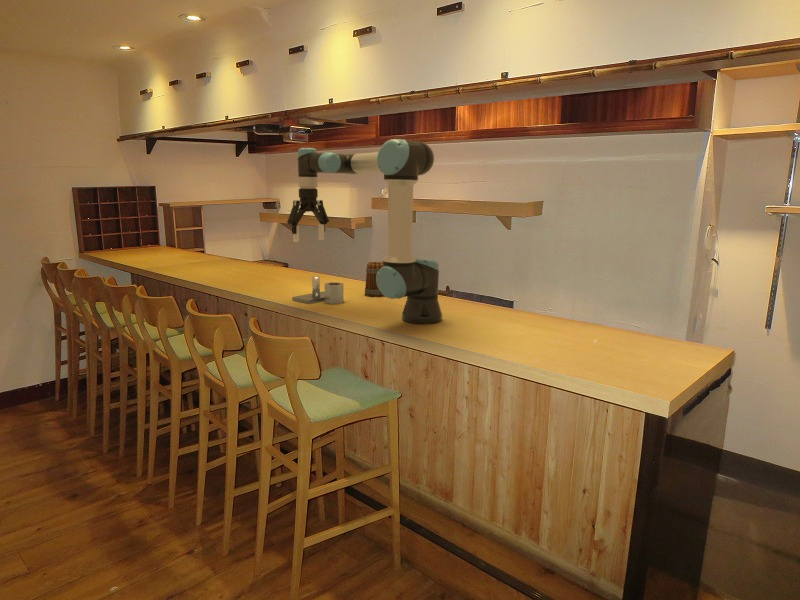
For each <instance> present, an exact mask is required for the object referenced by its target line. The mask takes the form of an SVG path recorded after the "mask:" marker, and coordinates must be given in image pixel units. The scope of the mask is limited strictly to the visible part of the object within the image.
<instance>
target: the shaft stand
mask: <svg viewBox="0 0 800 600" xmlns="http://www.w3.org/2000/svg"><path fill="white" fill-rule="evenodd" d="M291 299H292V301H294V302H297V303H304V304H307V305H311V304H316V303H320V302H325V290H324V291H323V290H322V291H321V276H319V275H318V276H317V275H314V276H311V293H306V294H302V295H297V296H292V297H291Z"/></svg>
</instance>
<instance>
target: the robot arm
mask: <svg viewBox="0 0 800 600" xmlns="http://www.w3.org/2000/svg"><path fill="white" fill-rule="evenodd" d="M434 163H435V155H434V151H433V149H432V147H430V146H429V145H428V144H427V143H425V142H423V141H417V140H411V139H410V140H409V139H404V138H393V139H392V138H391V139H388V140H387V141H385V142H384V143H383V144H382V145H381V146H380V148H379V150H378V151H374V152H373V151H372V152H363V153H350V154H344V153H335V152H331V151H330V152H329V151H326V152H318V150H317V149H316V148H314V147H300V148H299V149H298V150H297V173H298V176H297V177H298V181H297V182H298V187H299V188H298V198H299V200H298V199H297V200H293V201H292V208H291V211H290V213H289V216H288V219H287V222H286V224H288V225H290V227H291V234H292V238H293V239H292V241H293V242H294V243H300V226H299V223H300V221H301V219H302V217H303V216H304V214H305V213H307V212H308V213H309V212H311V213H312V214H313V215H314V217H315V218H316V219H317V221H318V222H319V223H318V226H317V227H318V228H317V229H318V231H317V232H318V240H319V241H325V231H326V225H327V224H328V223H330V220H329V217H328V215H327V212H326V211H327V210H326V209H325V207H324V200H322V199H317V198H318V197H319V196H318V195H319V194H318V193H319V192H318V189H317V188H318V173H319V174H320V173H322V174H345V175H346V174H348V175H358V174H364V173H365V174H368V173H369V174H370V173H382V174H383V181H384V182H385V183H386V184H387V189H388V190H387V250H386V251H387V253H386V254H387V255H385V257H384V258H383V259H382V262H383V267H382V268H381V269H379V271H378V272H377V275H376V283H377V286H378V289H379V290H380V291H381V293H382V294H383V295H384V296H383V297H385V298H387V299H391V300H393V299H399V300H400V299H403V298H405V297H406V301H405V304H404V308H403V310H402V313H401V315H402V316H401V319H402V320H403V322H407V323H410V324H411V323H413V324H421V325H422V324H423V325H427V324H430V325H431V324H436V323H439V322H441V321H443V313H442V310H441V306H440V302H439V274H440V270H439V269H440V268H439V262H438V261H436V260H433V259H424V258H415V257H414V256H413V254H412V253H413V251H412V250H413V217H414V216H413V215H414V214H413V213H414V211H413V210H414V205H413V204H414V186H415V184H416V183H417V182H419V176H423V175H426V174H427V173H429V171H431V169H432V168H433V166H434Z"/></svg>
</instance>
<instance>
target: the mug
mask: <svg viewBox="0 0 800 600" xmlns="http://www.w3.org/2000/svg"><path fill="white" fill-rule="evenodd" d="M382 267H383V261H381V262H380V261H370V262H368V261H367V263H366V271H365V272H366V276H365V288H364V294H365V296H367V297H369V296H370V297H371V298H382V296H383V297H385V296H384V295H383V294H382V293H381V291H380V290H379V289H378V286H377V283H376V275H377V272H378V271H379V269H381V268H382Z"/></svg>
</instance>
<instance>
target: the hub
mask: <svg viewBox="0 0 800 600" xmlns="http://www.w3.org/2000/svg"><path fill="white" fill-rule="evenodd" d="M324 292H325V301H324V303H325V304H328V305H339V304H340V305H341V304H344V300H345V299H344V295H345V294H344V282H336V281H334V282H333V281H332V282H330V281H329V282H325V283H324Z"/></svg>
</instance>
